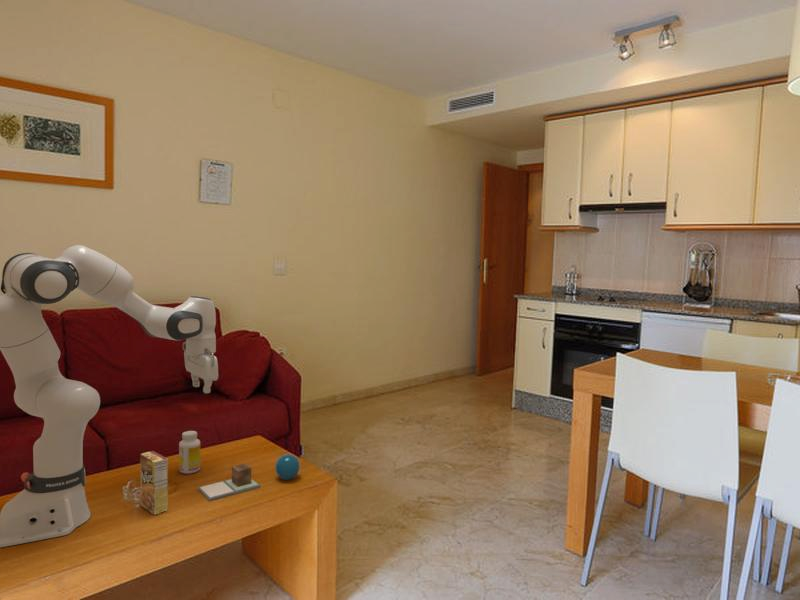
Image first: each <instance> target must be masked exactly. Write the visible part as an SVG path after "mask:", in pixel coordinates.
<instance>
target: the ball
mask: <svg viewBox="0 0 800 600" xmlns="http://www.w3.org/2000/svg"><path fill="white" fill-rule="evenodd" d="M300 469H301V462H300V460H299V459H298V457H297V456H295V455H294V454H290V453H287V454H285V453H284V454H283V455H281V456H280V457H279V458H278V459H277V460H276V462H275V467H274V471H275V473H276V475H277V476H278V478H280V479H282V480H284V481H285V480H286V481H287V480H292V479H294V478H295V477H297V475H298V474H299V473H300Z"/></svg>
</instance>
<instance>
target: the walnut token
mask: <svg viewBox="0 0 800 600" xmlns="http://www.w3.org/2000/svg"><path fill="white" fill-rule="evenodd" d="M231 479H232V482H233V483H234V484H235V485H236V486H237V487H239V486H243V485H247V484H251V479H252V467H251V466H249V465H248V464H247V463H241V464H236V465H234V466H231Z"/></svg>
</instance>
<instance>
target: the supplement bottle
mask: <svg viewBox="0 0 800 600" xmlns="http://www.w3.org/2000/svg"><path fill="white" fill-rule="evenodd" d="M181 437H182V440H181V441H179V443H178V452H179V453H178V458H179V459H178V461H179V462H178V464H179V472H180V473H182V474H187V475H189V474H194V473H197V472H198V471H200V470H201V467H202V466H201V464H202V463H201V462H202V461H201V458H202V457H201V440H200V439H198V438H197V437H198V431H196V430H187V431H184V432H182V434H181Z"/></svg>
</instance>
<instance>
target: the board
mask: <svg viewBox="0 0 800 600" xmlns="http://www.w3.org/2000/svg"><path fill="white" fill-rule="evenodd" d="M256 489H261V484H259V483H258V482H257V481H255V480H254V479H253V478H251V484H247V485H243V486H239V487H237V486H236V485H235V484H234V483H233V482H232V478H229V479H226V480H221V481H218V482H213V483H209V484H205V485H203V486H202V485H201V486H198V487H197V490H198V492H200V493H201V494H202V496H204V497H205V498H206V499H207V500H208V502H212V501H215V499H216V500H218V499H222V498H225V497H230V496H234V495H237V494H241V493H245V492H249V491H252V490H256Z"/></svg>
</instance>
